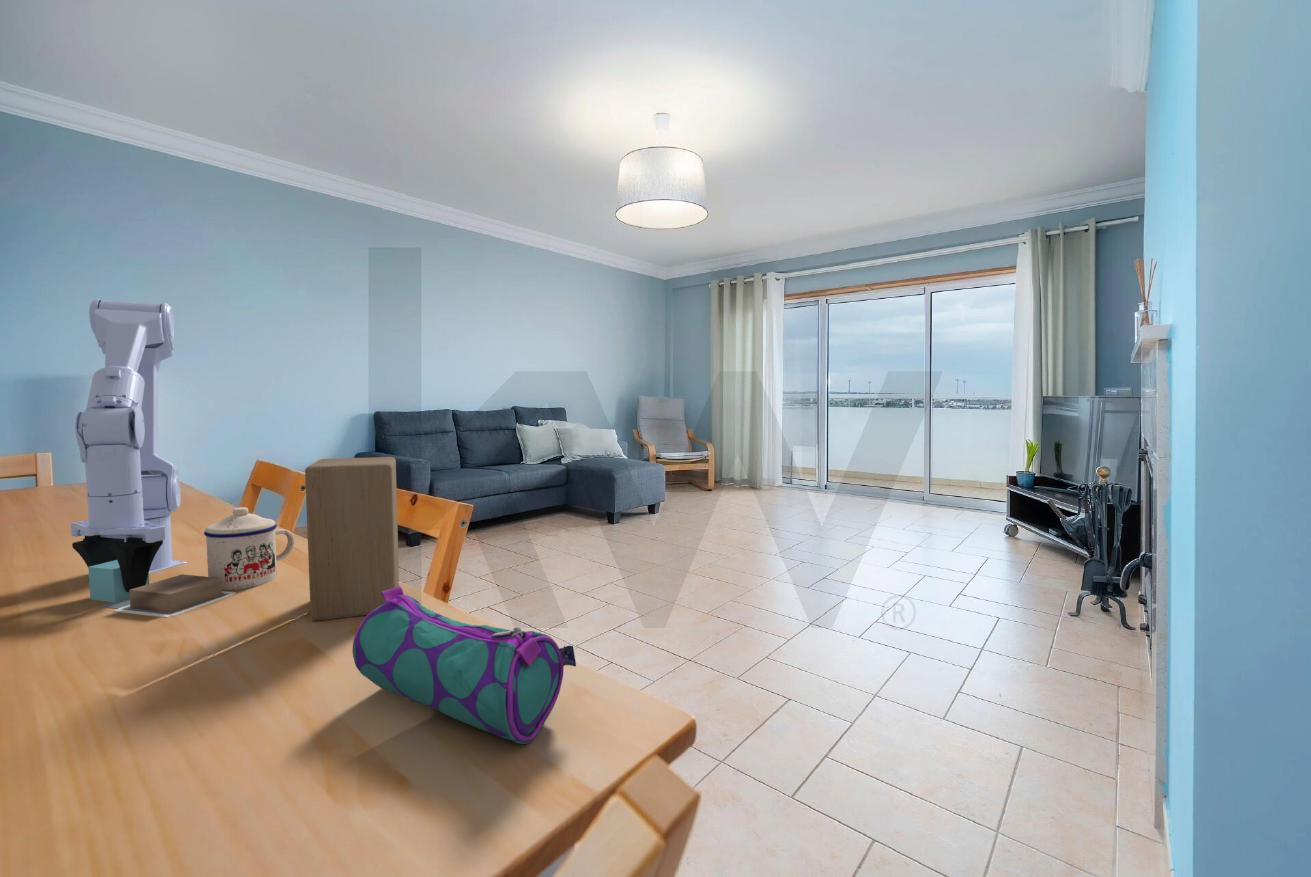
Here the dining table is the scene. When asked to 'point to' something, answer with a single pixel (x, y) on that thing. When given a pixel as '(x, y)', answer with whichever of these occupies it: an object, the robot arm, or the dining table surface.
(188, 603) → the walnut base
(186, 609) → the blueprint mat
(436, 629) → the pencil case
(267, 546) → the teacup with lid
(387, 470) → the wooden block
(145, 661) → the dining table surface
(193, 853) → the dining table surface
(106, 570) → the teal cube
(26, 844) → the dining table surface
